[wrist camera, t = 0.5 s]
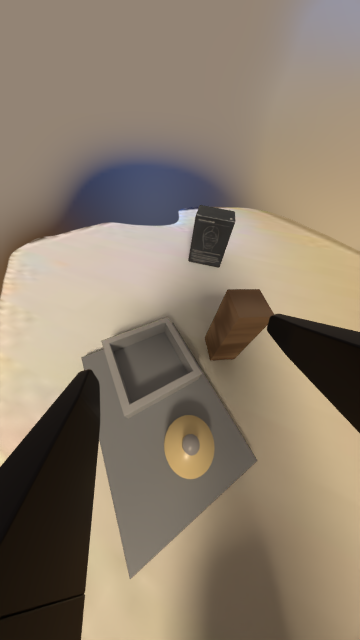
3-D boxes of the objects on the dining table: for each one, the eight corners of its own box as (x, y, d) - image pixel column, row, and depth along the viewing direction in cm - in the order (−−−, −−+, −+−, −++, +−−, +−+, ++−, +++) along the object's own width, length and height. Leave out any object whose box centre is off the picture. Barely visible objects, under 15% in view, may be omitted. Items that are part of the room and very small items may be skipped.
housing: (252, 459, 18) (273, 464, 15) (131, 570, 13) (123, 614, 10) (172, 325, 28) (174, 311, 24) (84, 360, 23) (71, 347, 19)
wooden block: (234, 358, 25) (275, 316, 16) (210, 360, 25) (239, 317, 16) (227, 336, 28) (259, 289, 19) (204, 337, 27) (227, 289, 18)
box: (220, 256, 43) (235, 210, 34) (219, 268, 39) (236, 221, 31) (191, 249, 43) (199, 203, 34) (187, 261, 39) (195, 213, 31)
